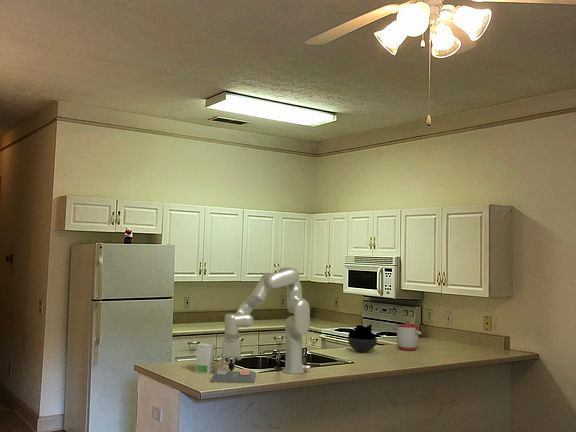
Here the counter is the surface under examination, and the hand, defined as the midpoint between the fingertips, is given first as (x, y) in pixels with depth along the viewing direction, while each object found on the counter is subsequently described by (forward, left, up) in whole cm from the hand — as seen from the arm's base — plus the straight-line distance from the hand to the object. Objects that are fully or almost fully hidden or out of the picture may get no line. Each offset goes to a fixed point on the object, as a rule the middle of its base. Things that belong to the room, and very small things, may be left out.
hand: (231, 370), depth 334 cm
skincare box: (+16, -10, -3) cm, 19 cm away
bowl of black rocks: (-82, -86, -3) cm, 119 cm away
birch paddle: (+5, 0, -1) cm, 5 cm away
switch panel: (-2, +6, -3) cm, 7 cm away
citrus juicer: (-117, -101, -4) cm, 155 cm away
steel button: (+4, +12, +1) cm, 12 cm away
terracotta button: (-8, +12, +1) cm, 14 cm away
